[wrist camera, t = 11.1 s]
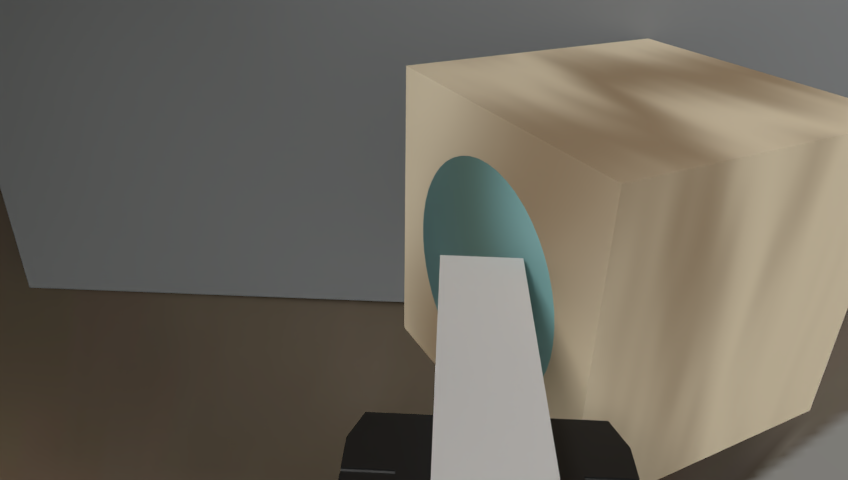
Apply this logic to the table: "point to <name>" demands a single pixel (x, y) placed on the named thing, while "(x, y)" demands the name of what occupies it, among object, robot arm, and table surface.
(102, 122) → the rubber mat
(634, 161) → the beech block
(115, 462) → the table surface
